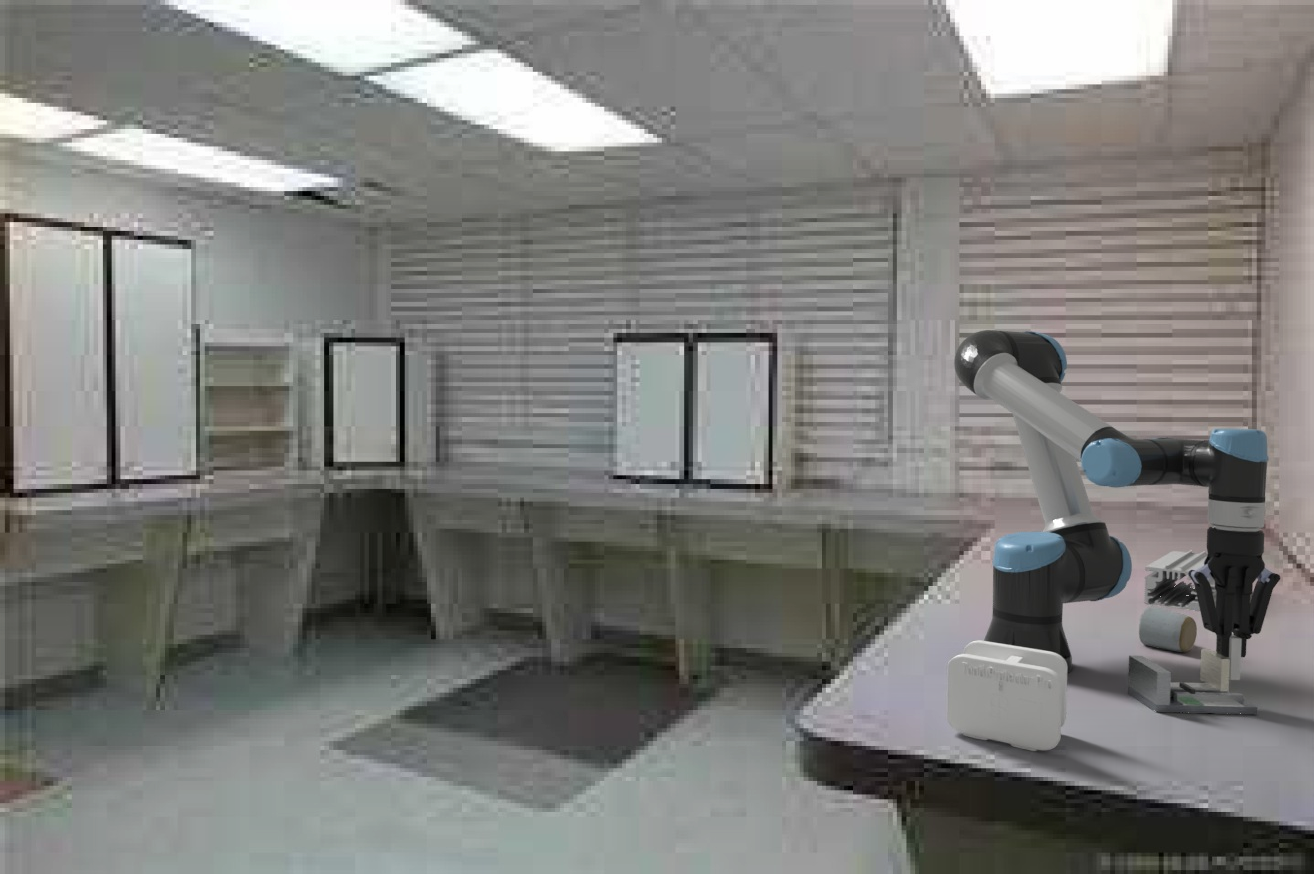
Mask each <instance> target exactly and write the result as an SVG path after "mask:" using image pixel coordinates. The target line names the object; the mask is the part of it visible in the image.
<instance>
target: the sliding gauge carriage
mask: <svg viewBox="0 0 1314 874" xmlns="http://www.w3.org/2000/svg"><path fill="white" fill-rule="evenodd" d="M1229 669H1230V659H1228V658H1226V657H1224V656H1222V655H1220V654H1218V653H1217V652H1216V651H1214V650H1212V649H1210V648H1201V652H1200V674H1199V675H1200V676H1199V677H1200V678H1199V679H1200V681H1202V682H1180V681H1179V682H1175V681H1174V682H1172V681H1171V685H1170V696H1174V692H1189V693H1191V694H1195V692H1208V693H1218V690H1219V691H1229V692H1230V690H1229V689H1230V679H1229ZM1203 682H1204V683H1203Z"/></svg>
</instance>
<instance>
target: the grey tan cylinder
mask: <svg viewBox="0 0 1314 874" xmlns="http://www.w3.org/2000/svg"><path fill="white" fill-rule="evenodd" d="M1197 630H1198V628H1197V622H1196V621H1195V619H1194V618H1193V617H1191V616H1190V615H1186V614H1185V613H1181V612H1177V611H1171V610H1168V609H1164V608H1160V607H1157V606H1155V605H1148V606H1147V607H1146V608H1145V609H1144V610H1143V612H1142V614H1141V616H1140V619H1139V624H1138V637H1139V640H1140V642H1141V643H1142V644H1143V645H1144V646H1148V647H1153V648H1157V647H1158V649H1162V648H1163V650H1167V651H1172V652H1177V653H1178V652H1179V653H1188V652H1189V651H1191V650H1192V648H1193V647H1194V645H1195V643H1196V638H1197V636H1198V635H1197Z"/></svg>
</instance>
